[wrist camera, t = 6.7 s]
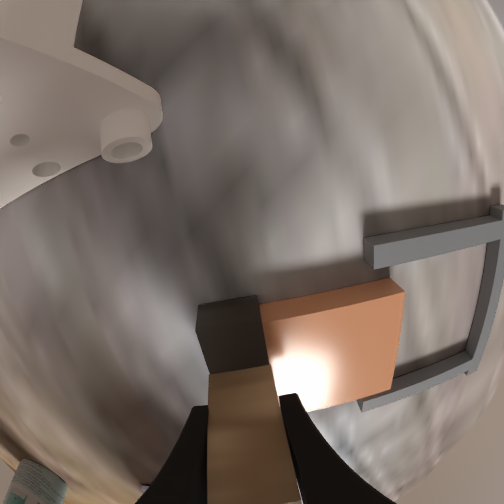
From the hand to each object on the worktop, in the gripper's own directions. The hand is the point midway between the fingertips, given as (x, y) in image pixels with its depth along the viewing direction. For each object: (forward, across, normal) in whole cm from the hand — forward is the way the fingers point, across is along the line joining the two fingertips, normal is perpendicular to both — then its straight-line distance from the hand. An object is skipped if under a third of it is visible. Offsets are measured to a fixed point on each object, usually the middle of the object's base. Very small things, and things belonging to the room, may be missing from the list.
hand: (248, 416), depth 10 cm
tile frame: (+3, -10, 0) cm, 10 cm away
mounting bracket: (+4, +7, -14) cm, 16 cm away
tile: (+4, -4, 0) cm, 6 cm away
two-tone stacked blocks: (+3, 0, 0) cm, 3 cm away
